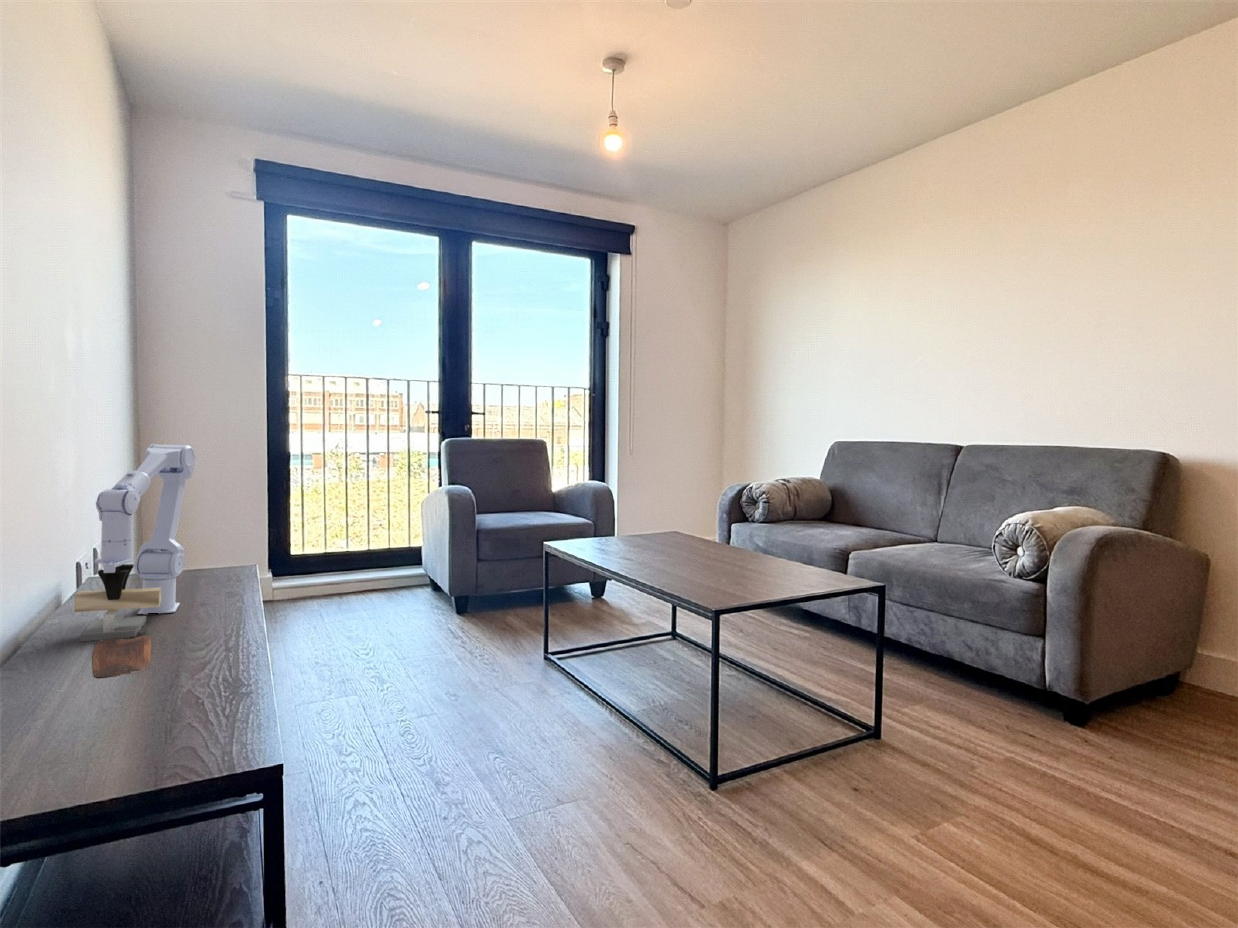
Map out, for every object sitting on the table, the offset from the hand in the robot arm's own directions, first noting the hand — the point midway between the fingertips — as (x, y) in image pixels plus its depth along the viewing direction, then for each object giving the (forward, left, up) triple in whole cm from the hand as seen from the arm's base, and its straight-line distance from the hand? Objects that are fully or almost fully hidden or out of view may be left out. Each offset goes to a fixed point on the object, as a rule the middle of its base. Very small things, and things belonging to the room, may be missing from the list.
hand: (115, 597), depth 156 cm
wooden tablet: (+21, +5, -9) cm, 23 cm away
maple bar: (0, +1, -2) cm, 2 cm away
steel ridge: (0, 0, -6) cm, 6 cm away
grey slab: (0, 0, -8) cm, 8 cm away
